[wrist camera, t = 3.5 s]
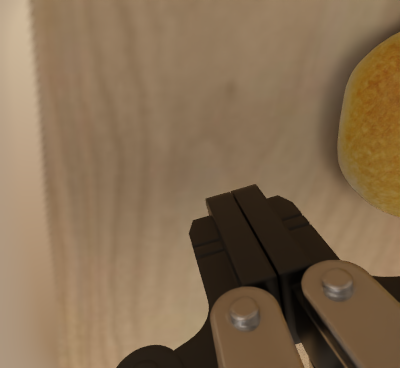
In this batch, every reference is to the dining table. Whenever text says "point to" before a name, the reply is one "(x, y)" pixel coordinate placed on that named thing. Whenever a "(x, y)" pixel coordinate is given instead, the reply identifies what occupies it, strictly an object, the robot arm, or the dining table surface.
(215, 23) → the dining table surface
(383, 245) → the dining table surface
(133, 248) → the dining table surface
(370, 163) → the bread roll
